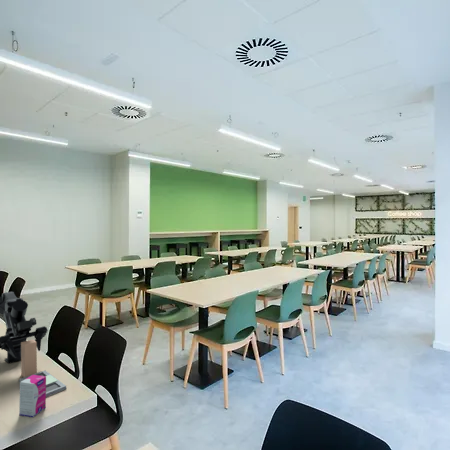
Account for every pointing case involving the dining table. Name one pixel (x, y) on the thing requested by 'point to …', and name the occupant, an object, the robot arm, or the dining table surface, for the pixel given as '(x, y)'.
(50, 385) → the tray
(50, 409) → the dining table surface
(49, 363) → the dining table surface
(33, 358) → the tan tall block
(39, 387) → the supplement box
